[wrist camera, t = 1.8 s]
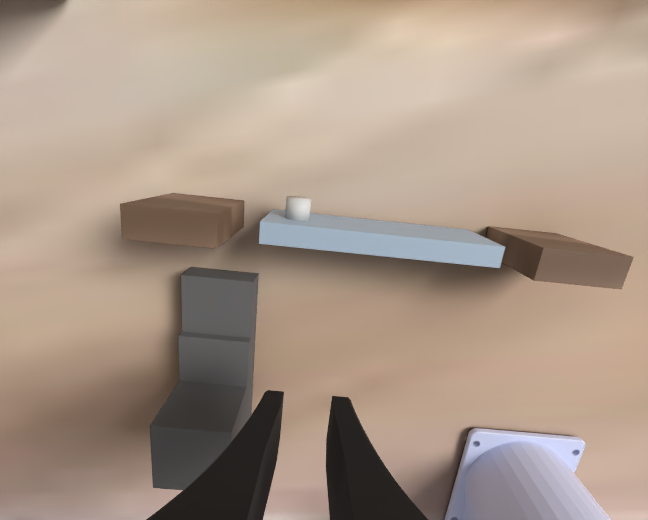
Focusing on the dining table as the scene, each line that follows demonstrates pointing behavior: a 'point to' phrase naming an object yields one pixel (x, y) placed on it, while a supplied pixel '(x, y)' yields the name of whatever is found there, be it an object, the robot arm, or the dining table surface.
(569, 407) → the dining table surface
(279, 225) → the door leaf
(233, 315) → the notched block
